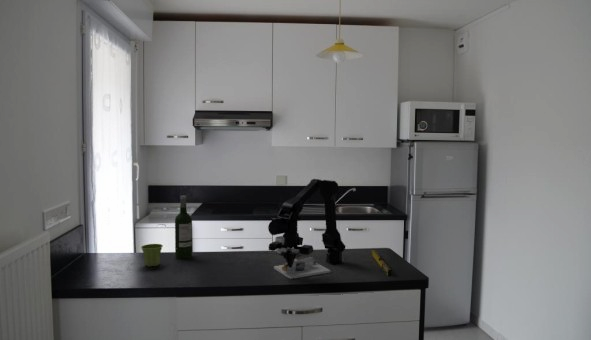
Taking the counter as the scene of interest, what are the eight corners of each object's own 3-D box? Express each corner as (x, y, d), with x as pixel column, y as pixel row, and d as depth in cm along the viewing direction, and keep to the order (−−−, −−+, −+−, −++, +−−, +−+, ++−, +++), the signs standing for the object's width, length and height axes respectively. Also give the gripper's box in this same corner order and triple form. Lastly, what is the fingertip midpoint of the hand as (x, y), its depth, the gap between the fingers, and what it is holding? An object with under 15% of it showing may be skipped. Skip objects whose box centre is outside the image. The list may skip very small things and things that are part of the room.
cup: (287, 257, 209) (287, 241, 209) (271, 256, 211) (272, 240, 210) (291, 251, 220) (292, 236, 219) (277, 250, 221) (277, 235, 221)
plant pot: (136, 266, 191) (136, 247, 191) (151, 260, 200) (150, 242, 199) (153, 268, 188) (153, 249, 187) (167, 263, 197) (167, 244, 196)
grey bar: (315, 266, 190) (316, 258, 190) (286, 274, 179) (286, 265, 178) (308, 264, 194) (308, 256, 194) (278, 271, 182) (278, 263, 182)
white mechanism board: (311, 262, 201) (311, 254, 201) (330, 272, 186) (330, 264, 186) (273, 268, 191) (273, 259, 191) (290, 279, 177) (290, 270, 177)
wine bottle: (183, 259, 202) (182, 197, 200) (171, 257, 207) (171, 196, 204) (195, 256, 209) (195, 195, 207) (184, 253, 213) (183, 194, 211)
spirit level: (371, 255, 216) (371, 249, 216) (374, 255, 216) (374, 249, 216) (387, 276, 183) (388, 269, 183) (390, 276, 183) (391, 269, 183)
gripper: (318, 230, 183) (317, 265, 184) (279, 226, 191) (279, 260, 192) (308, 235, 173) (308, 272, 174) (267, 231, 181) (268, 266, 182)
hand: (290, 267), depth 181 cm, fingers closed
